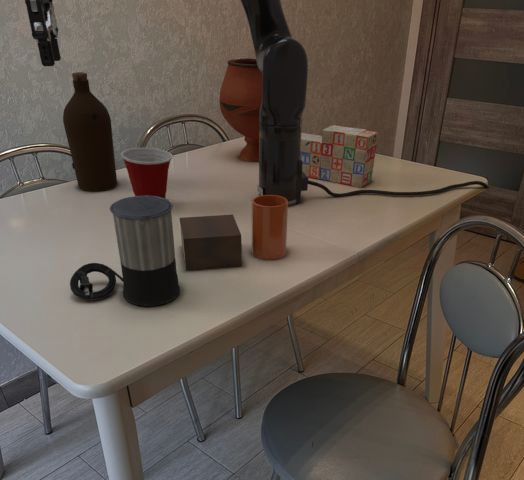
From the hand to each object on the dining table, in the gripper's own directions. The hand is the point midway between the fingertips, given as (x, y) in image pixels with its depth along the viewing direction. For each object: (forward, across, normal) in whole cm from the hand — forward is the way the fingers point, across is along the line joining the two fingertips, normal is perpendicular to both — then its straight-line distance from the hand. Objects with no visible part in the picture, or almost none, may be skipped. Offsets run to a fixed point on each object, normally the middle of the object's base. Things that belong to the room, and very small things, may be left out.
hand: (52, 63), depth 100 cm
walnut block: (+30, -27, -26) cm, 48 cm away
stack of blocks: (+30, +16, -61) cm, 70 cm away
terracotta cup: (+30, -27, -36) cm, 54 cm away
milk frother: (+30, -39, -10) cm, 50 cm away
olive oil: (+29, +19, -2) cm, 35 cm away
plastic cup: (+30, +1, -15) cm, 33 cm away
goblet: (+30, +38, -45) cm, 66 cm away
